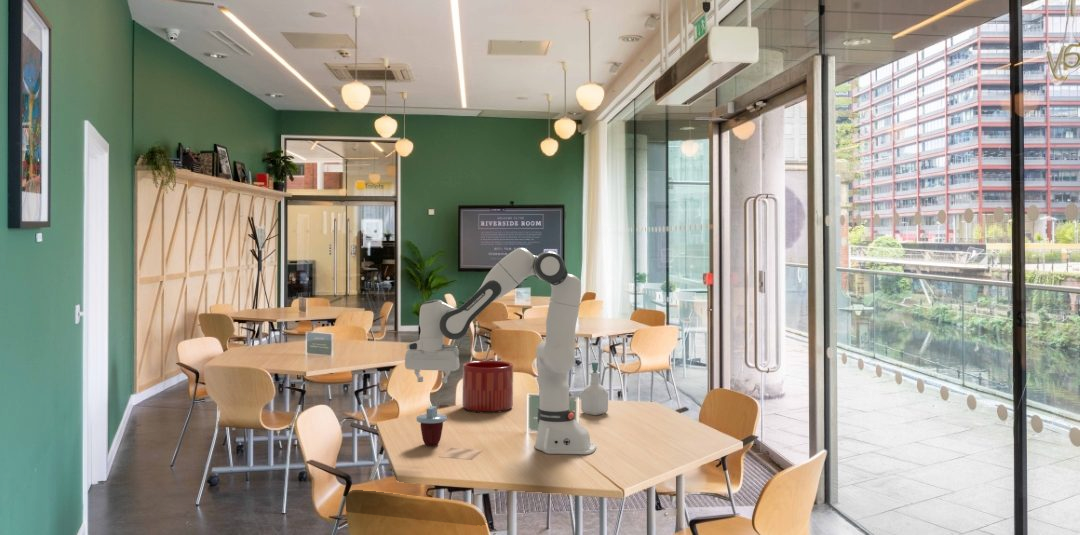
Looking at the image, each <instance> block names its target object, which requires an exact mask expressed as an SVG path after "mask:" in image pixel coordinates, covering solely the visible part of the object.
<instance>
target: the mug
mask: <svg viewBox="0 0 1080 535" xmlns="http://www.w3.org/2000/svg"><path fill="white" fill-rule="evenodd" d="M443 427H444V422H441V423H420V430H421V437H422V441H423V443H424V445H425V446H426V447H436V446H439V443H440V442H441V439H442V433H443Z"/></svg>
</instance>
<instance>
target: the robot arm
mask: <svg viewBox="0 0 1080 535" xmlns="http://www.w3.org/2000/svg"><path fill="white" fill-rule="evenodd" d="M530 276H534V277H536V278H537V279H539V280H540V281H542V282H546V283H549V285H550V288H551V292H550V293H551V294H550V299H549V304H548V308H547V314H546V318H545V327H546V328H545V340H542V341H541V342H540V343H538V345H537V347H536V348H535V358H536V369H537V378H538V379H537V380H538V385H539V386H538V389H539V391H538V393H539V394H538V395H539V396H538V399H539V400H538V402H539V403H538V404H539V406H538V408H537V425H538V426H537V434H536V439H535V443H534V446H533V447H534V448H535V449H537V450H539V451H542V452H543V453H545V454H548V455H549V454H550V455H551V454H552V455H554V454H555V455H590V454H593V453H594V452H595V451H596V449H597V445H596V443H594V442H592V441H591V437H590V433H589V431H588V429H587V428H586V427H585V426H583V425H582V424H581V423H579V422H578V421H577V420H576V419H575V414H576V411H575V410H572V409H571V408H570V385H569V380H568V374H567V373H568V372H570V371H571V370H572V369H573V367H574V365H575V362H576V358H575V349H576V347H575V345H576V327H577V323H578V322H577V321H578V315H579V309H580V304H581V297H582V296H581V295H582V282H581V280H580V278H579V277H578V276H576V275H574V274H570V273H568V270H567V266H566V264H565V260H564V259H563V258H562V256H561V255H560V254H559V253H557V252H555V251H550V250H549V251H544V252H541V253H540V254H537V255H534V254H533V253H532V252H531V251H530V250H528V249H527V248H525V247H518V248H516V249H514V250H512V251H511V252H509V253H508V254H506V255H505V256H504V257H502V258H501V260H499V261H498V262H497V263H496V264H495V265H494V266H493V267H492V268H491V269H490V271H489V272H488V273H487V275H486V276H485V277H484V280H483V282H482V284H481V286H480V287H479V288H478V290H477V291H476V292H475V293H474V294H473V295H471V297H470V298H468V300H466V302H464V303H463V304H462V305H461V306H459V307H458V308H457V307H454V306H451V305H449V304H447V303H446V302H444V301H443V300H441V299H431V300H428V301H427V300H426V301H425V302H423V303H422V304H421V305H420V307H419V308H420V309H419V322H418V324H419V328H420V333H419V339H418V340H415V341H413V342H410V343H408V344H407V345H406V349H407V351H406V353H405V357H404V366H405V369H406V370H411V371H414V372H413V373H414V374H415V376H416V378H417V383H423V382H424V376H421V374H420V372H421V371H440V372H441V371H442V372H443V373H444V377H441V383H442V384H447V383H448V378H449V376H450V374H451V372H455V371H458V370H459V368H460V358H459V357H460V356H459V355H460V348H459V347H458V346H456V345H455V344H445V338H447V339H450V340H453V341H454V340H455V341H456V340H459V339H461V338H463V337H464V336H466V334H467V332H468V330H469V328H470V326H471V324H472V322H473V321H474V319H475V318H477V317H478V316H479V315H480V313H481V312H483V311H484V310H485V309H486V308H488V306H489V305H490V304H492V303H493V302H495V301H497V300H499V299H500V298H502V297H504V296H506V295H507V294H508V293H510V292H511V291H513V290H514V289H515V288H517V287H518V286H519V285H520V284H521V283H522V282H523V281H524V280H525V279H526V278H528V277H530Z"/></svg>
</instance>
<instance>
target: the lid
mask: <svg viewBox="0 0 1080 535" xmlns="http://www.w3.org/2000/svg"><path fill="white" fill-rule="evenodd" d="M447 421H448V416H447V415H445V414H441V413H438V406H434V405H432V406H429V407H428V408H426V414H421V415H420V414H419V415H418V416H416V422H418V423H420V424H421V423H441V422H443V423H444V422H447Z"/></svg>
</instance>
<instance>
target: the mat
mask: <svg viewBox="0 0 1080 535" xmlns="http://www.w3.org/2000/svg"><path fill="white" fill-rule="evenodd" d="M483 450H484V449H473V448H472V449H470V448H461V447H460V448H459V447H458V448H457V447H450V448H449V449H447V450H446V451H445V452H443V453H442V454H440V455H439V456H438V457H439V458H448V459H457V460H458V459H461V460H470V461H471V460H473V459H475V458H476V457H477V456H478V455H479V454H480V453H482V452H483Z"/></svg>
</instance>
